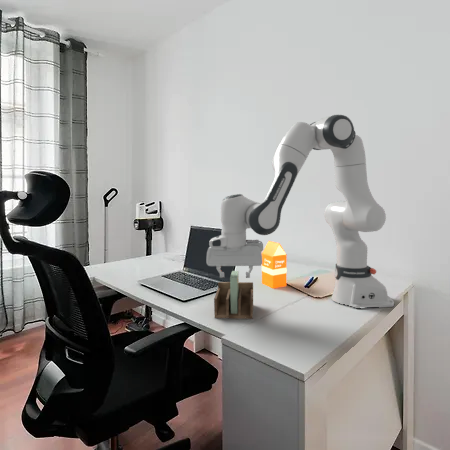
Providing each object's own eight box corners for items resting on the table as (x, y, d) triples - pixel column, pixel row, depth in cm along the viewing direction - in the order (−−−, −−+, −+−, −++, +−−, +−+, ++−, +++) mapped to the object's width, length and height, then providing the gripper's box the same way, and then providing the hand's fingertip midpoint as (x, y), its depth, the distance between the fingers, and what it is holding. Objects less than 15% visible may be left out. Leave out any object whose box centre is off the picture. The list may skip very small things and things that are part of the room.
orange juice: (272, 288, 146) (272, 244, 144) (261, 283, 154) (261, 241, 151) (286, 285, 150) (287, 242, 147) (275, 280, 158) (275, 239, 155)
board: (238, 304, 126) (238, 271, 124) (237, 313, 117) (236, 277, 115) (232, 304, 126) (232, 271, 124) (230, 313, 117) (230, 277, 115)
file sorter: (253, 304, 127) (253, 282, 126) (252, 318, 114) (252, 293, 113) (218, 304, 128) (218, 282, 127) (214, 318, 116) (213, 293, 114)
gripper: (262, 238, 120) (263, 274, 122) (207, 238, 122) (208, 275, 124) (263, 241, 114) (263, 279, 116) (204, 242, 116) (206, 280, 118)
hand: (235, 277), depth 120 cm, fingers open, 8 cm apart
